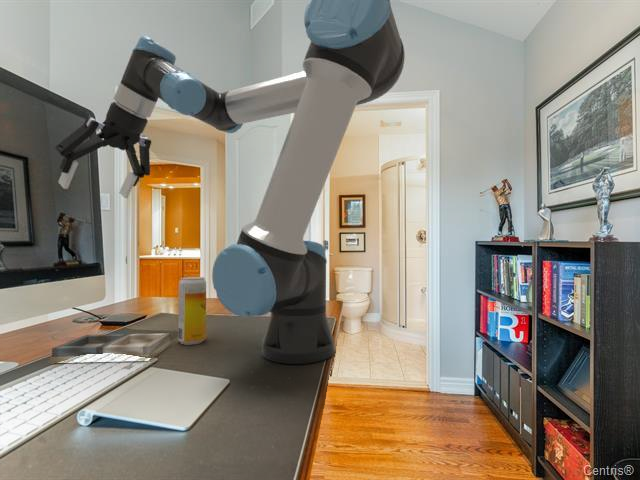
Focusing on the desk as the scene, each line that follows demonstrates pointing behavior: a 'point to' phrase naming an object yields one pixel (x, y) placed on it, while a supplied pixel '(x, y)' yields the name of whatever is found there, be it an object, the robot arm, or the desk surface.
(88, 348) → the socket board
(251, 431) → the desk surface
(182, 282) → the beer can
